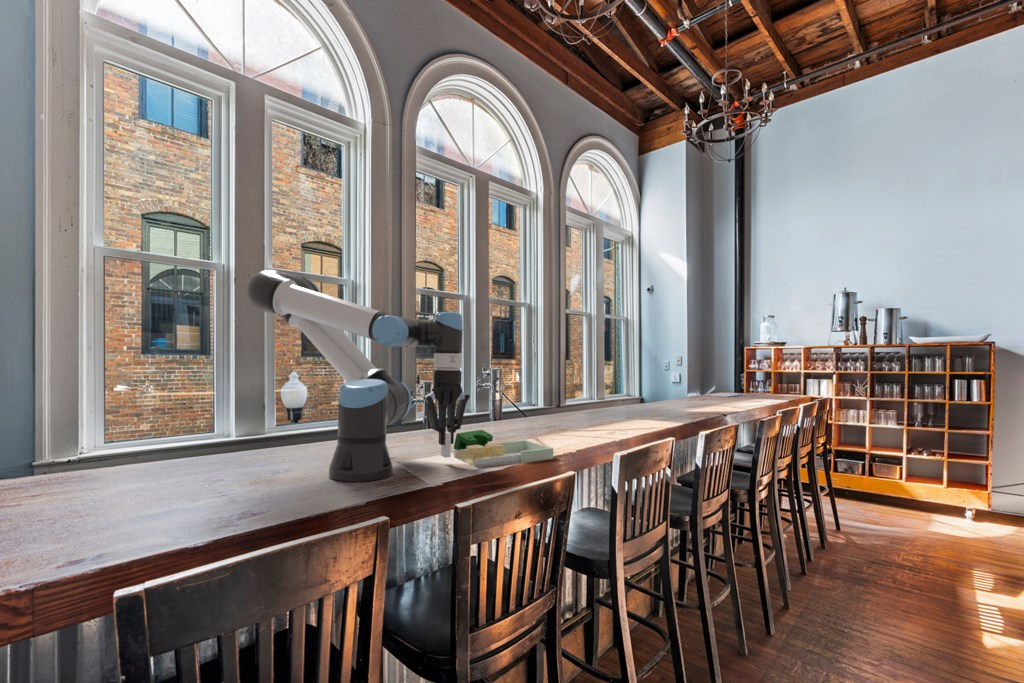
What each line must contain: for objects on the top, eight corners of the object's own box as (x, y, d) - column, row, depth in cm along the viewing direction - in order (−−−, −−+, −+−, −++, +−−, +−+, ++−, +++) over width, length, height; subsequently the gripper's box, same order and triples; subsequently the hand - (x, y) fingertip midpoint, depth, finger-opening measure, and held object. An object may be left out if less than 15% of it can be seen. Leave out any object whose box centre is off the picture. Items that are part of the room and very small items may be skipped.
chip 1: (472, 462, 139) (473, 448, 139) (466, 459, 142) (466, 445, 142) (485, 461, 141) (485, 447, 141) (478, 458, 144) (478, 444, 144)
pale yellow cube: (491, 460, 142) (492, 446, 142) (484, 458, 145) (485, 444, 145) (503, 459, 144) (504, 445, 144) (496, 456, 148) (496, 443, 148)
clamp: (468, 467, 155) (465, 443, 151) (455, 459, 159) (452, 436, 155) (496, 448, 163) (493, 425, 159) (483, 441, 167) (480, 418, 163)
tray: (521, 465, 141) (521, 451, 141) (495, 455, 153) (495, 442, 153) (553, 461, 147) (553, 448, 147) (525, 452, 159) (525, 439, 159)
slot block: (476, 470, 134) (476, 459, 134) (453, 459, 145) (454, 450, 145) (520, 464, 142) (520, 454, 142) (495, 455, 153) (496, 446, 153)
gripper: (430, 370, 130) (428, 461, 130) (475, 369, 137) (473, 456, 137) (419, 368, 136) (417, 456, 136) (462, 368, 143) (461, 451, 143)
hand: (445, 456), depth 136 cm, fingers closed
